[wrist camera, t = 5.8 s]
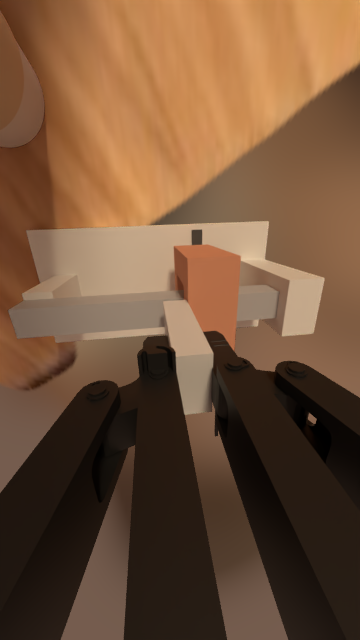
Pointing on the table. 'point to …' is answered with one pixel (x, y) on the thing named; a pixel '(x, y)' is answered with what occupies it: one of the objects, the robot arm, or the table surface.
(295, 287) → the rail
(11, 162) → the table surface
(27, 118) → the coffee cup
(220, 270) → the notched orange block
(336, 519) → the robot arm
